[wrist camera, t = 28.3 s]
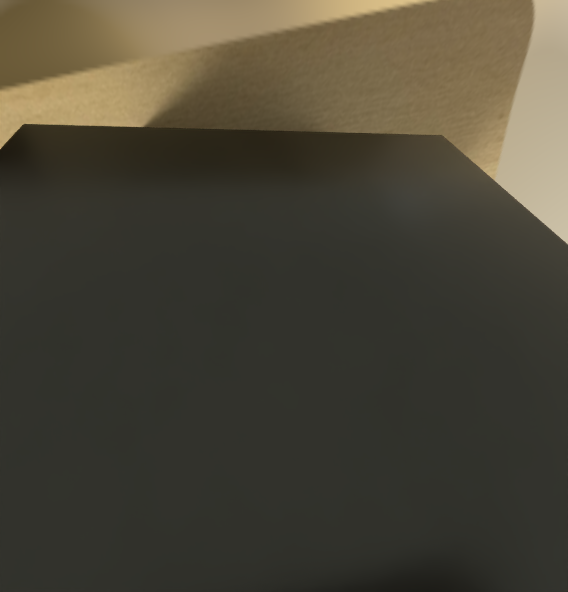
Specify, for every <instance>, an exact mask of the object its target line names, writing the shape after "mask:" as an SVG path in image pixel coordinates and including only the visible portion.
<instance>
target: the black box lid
mask: <svg viewBox="0 0 568 592" xmlns="http://www.w3.org/2000/svg"><path fill="white" fill-rule="evenodd" d="M0 592H568V244H567V243H566V242H564V241H563V240H562V239H561V238H560V237H559V236H557V235H556V234H555V233H554V232H553V231H552V230H551V229H549V228H548V227H547V226H546V225H545V224H544V223H542V222H541V221H540V220H539V219H538V218H537V217H535V216H534V215H533V214H532V213H531V212H530V211H529V210H528V209H526V208H525V207H524V206H523V205H522V204H521V203H519V202H518V201H517V200H516V199H515V198H514V197H513V196H511V195H510V194H509V193H508V192H507V191H506V190H504V189H503V188H502V187H501V186H500V185H498V183H496V182H495V181H494V180H493V179H492V178H491V177H490V176H488V175H487V174H486V173H485V172H484V171H483V170H481V169H480V168H479V167H478V166H477V165H476V164H475V163H473V162H472V161H471V160H470V159H469V158H468V157H466V156H465V155H464V154H463V153H462V152H461V151H460V150H458V149H457V148H456V147H455V146H454V145H453V144H452V143H450V142H449V141H448V140H447V139H446V138H445V137H443V136H442V135H409V134H372V133H335V132H297V131H260V130H223V129H186V128H149V127H112V126H75V125H38V124H24V125H22V126H21V127H20V129H19V130H18V131H17V132H16V133H15V134H14V135H13V136H12V137H11V138H10V139H9V140H8V141H7V142H6V144H5V145H4V146H3V147H2V148H1V149H0Z"/></svg>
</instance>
